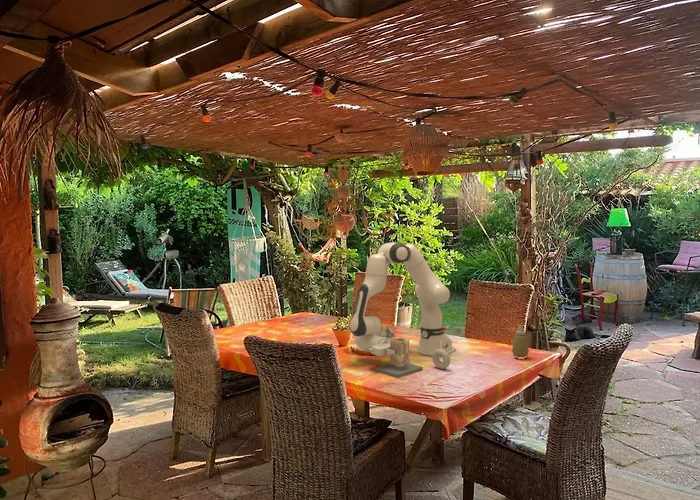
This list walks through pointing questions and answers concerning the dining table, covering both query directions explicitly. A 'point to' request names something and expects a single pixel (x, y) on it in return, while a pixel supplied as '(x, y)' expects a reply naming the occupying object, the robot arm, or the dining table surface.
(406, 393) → the dining table surface
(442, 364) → the donut
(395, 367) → the post board
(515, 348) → the squeeze bottle
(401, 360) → the sleeve
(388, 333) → the ceramic cottage
